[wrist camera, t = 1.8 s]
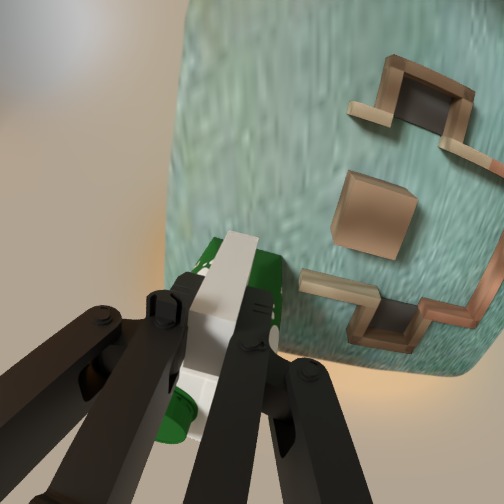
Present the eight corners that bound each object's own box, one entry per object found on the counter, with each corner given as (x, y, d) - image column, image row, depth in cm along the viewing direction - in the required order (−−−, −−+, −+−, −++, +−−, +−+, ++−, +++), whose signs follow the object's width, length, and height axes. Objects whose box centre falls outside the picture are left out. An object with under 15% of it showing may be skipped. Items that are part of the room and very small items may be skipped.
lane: (349, 101, 26) (354, 101, 23) (529, 180, 25) (541, 187, 23) (298, 277, 34) (298, 290, 32) (467, 316, 33) (475, 329, 31)
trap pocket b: (362, 293, 34) (366, 306, 32) (425, 307, 34) (431, 320, 31) (346, 329, 36) (348, 343, 34) (406, 340, 36) (411, 354, 34)
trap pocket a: (385, 57, 23) (393, 54, 21) (463, 91, 23) (475, 91, 21) (373, 109, 26) (380, 109, 23) (451, 139, 25) (462, 143, 23)
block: (347, 169, 29) (355, 179, 25) (404, 187, 28) (418, 199, 25) (330, 227, 31) (334, 244, 28) (384, 242, 31) (394, 260, 28)
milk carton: (206, 226, 33) (114, 371, 15) (293, 250, 33) (283, 421, 15) (194, 295, 37) (123, 443, 19) (270, 316, 37) (245, 479, 19)
